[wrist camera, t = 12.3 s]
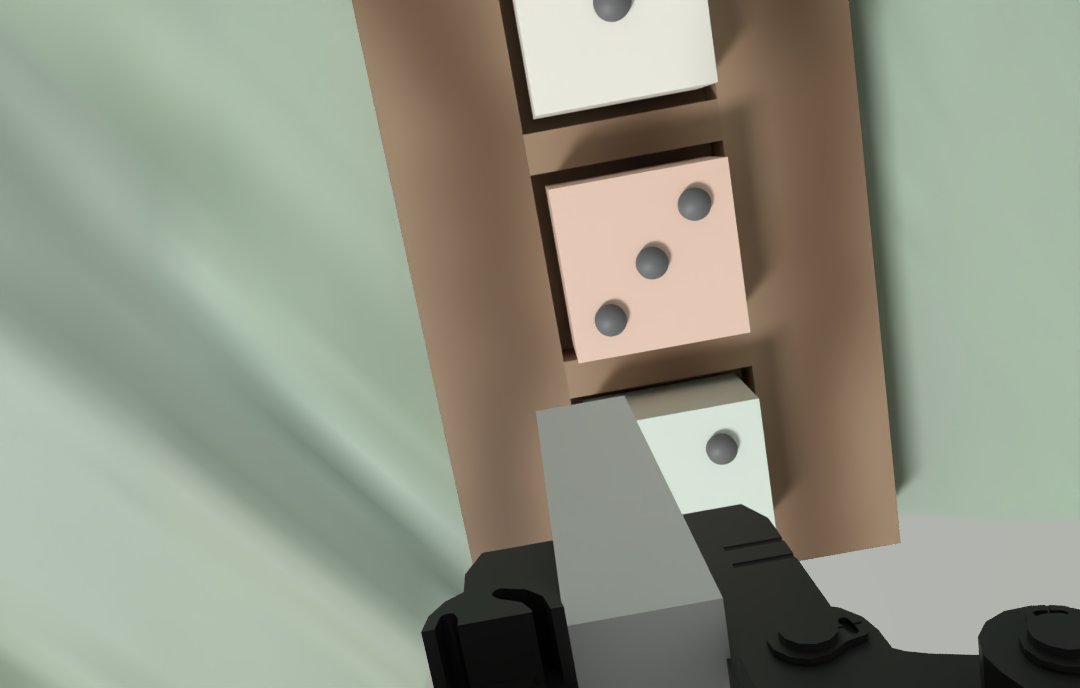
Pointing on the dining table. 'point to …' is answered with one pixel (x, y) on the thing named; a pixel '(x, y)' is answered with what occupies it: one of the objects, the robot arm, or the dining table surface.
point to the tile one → (612, 51)
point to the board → (534, 276)
